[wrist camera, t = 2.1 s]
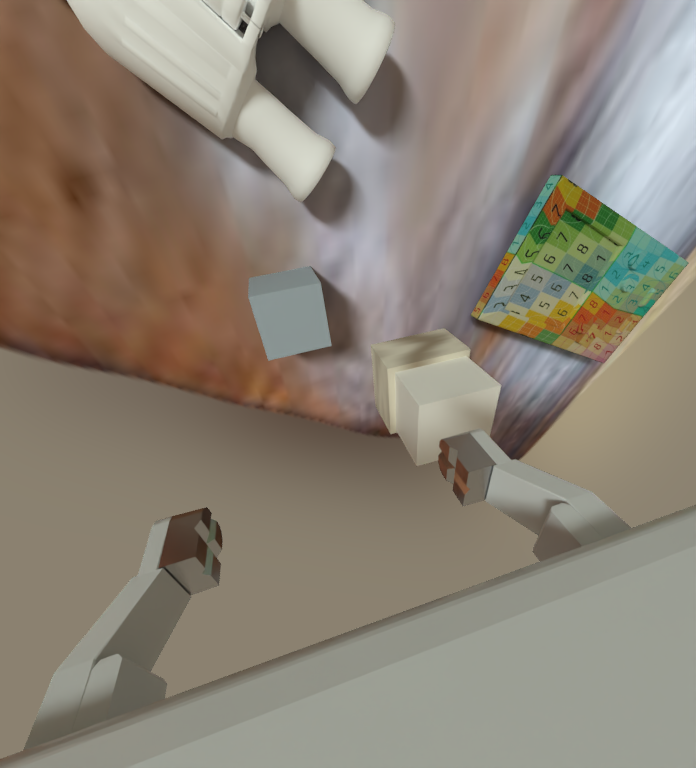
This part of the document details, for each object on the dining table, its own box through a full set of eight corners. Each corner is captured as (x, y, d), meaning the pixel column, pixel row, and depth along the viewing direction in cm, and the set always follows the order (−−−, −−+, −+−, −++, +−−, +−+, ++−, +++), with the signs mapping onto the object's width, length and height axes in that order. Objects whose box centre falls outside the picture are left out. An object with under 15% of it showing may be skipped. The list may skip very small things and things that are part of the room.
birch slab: (443, 327, 32) (470, 349, 28) (439, 389, 37) (461, 415, 33) (370, 344, 31) (387, 368, 27) (375, 405, 36) (390, 434, 32)
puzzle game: (611, 367, 35) (483, 323, 27) (576, 348, 39) (455, 305, 31) (699, 265, 30) (572, 174, 22) (649, 255, 34) (525, 175, 26)
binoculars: (300, 203, 23) (309, 208, 19) (19, -3, 15) (-57, -61, 12) (382, 44, 20) (413, 12, 16) (70, -329, 12) (-16, -566, 8)
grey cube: (309, 265, 26) (320, 282, 21) (320, 321, 28) (331, 345, 24) (249, 277, 25) (248, 297, 21) (266, 333, 28) (268, 360, 24)
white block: (466, 356, 28) (501, 385, 24) (458, 413, 33) (487, 446, 28) (394, 372, 27) (418, 405, 23) (395, 429, 32) (416, 466, 27)
